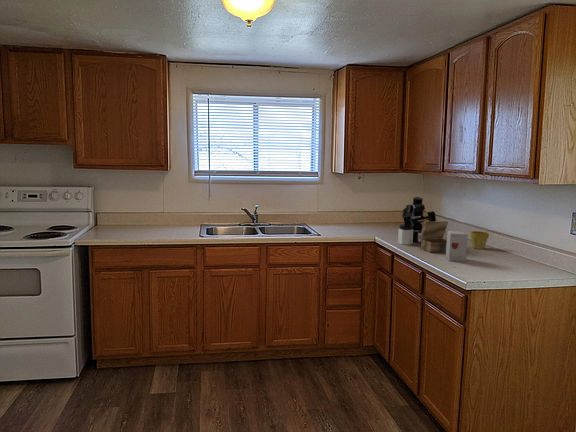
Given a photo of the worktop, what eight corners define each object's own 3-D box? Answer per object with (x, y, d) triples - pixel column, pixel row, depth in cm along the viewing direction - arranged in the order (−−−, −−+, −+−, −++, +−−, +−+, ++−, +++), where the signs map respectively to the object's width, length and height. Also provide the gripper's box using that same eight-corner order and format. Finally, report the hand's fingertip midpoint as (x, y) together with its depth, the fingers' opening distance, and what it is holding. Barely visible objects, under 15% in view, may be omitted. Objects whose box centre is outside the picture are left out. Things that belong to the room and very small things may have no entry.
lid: (421, 239, 289) (421, 238, 290) (442, 238, 292) (442, 237, 293) (426, 222, 283) (426, 221, 283) (448, 221, 286) (447, 221, 286)
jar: (398, 244, 304) (399, 225, 302) (397, 242, 312) (398, 223, 310) (412, 245, 302) (413, 226, 300) (412, 242, 310) (413, 224, 308)
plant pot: (479, 246, 302) (480, 230, 301) (491, 249, 292) (492, 233, 291) (465, 247, 298) (466, 231, 297) (478, 250, 289) (479, 234, 288)
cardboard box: (420, 248, 290) (421, 239, 289) (441, 248, 293) (442, 238, 292) (430, 253, 278) (431, 243, 278) (452, 252, 281) (453, 242, 281)
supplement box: (448, 261, 258) (450, 233, 256) (445, 257, 267) (446, 230, 265) (466, 261, 257) (468, 233, 255) (462, 258, 265) (464, 231, 264)
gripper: (400, 205, 301) (403, 213, 286) (431, 200, 298) (436, 207, 283) (403, 222, 304) (406, 230, 289) (433, 217, 301) (438, 225, 287)
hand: (421, 223), depth 287 cm, fingers open, 9 cm apart
